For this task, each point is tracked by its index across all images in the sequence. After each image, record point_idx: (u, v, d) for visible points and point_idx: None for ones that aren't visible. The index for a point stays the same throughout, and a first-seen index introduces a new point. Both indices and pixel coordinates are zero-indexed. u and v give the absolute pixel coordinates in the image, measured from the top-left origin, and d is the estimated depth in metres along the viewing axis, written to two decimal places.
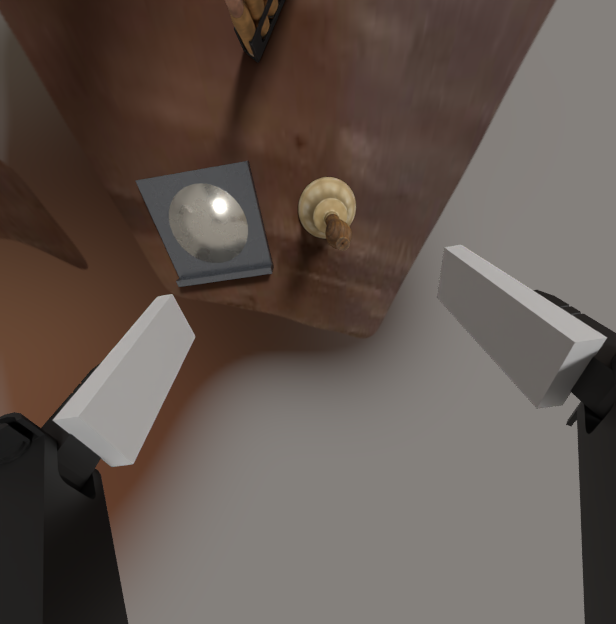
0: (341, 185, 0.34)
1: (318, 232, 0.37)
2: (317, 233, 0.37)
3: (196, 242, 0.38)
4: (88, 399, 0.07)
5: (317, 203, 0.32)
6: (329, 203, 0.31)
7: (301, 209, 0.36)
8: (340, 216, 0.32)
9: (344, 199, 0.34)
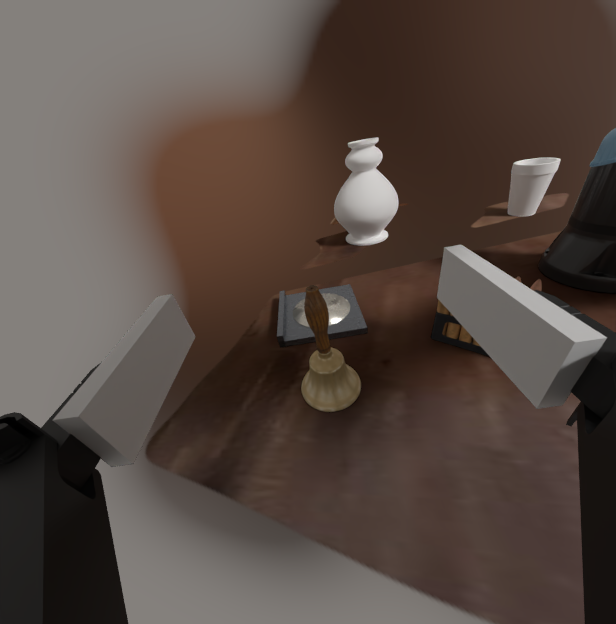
0: (354, 391, 0.33)
1: (309, 371, 0.36)
2: (308, 373, 0.37)
3: None
4: (88, 399, 0.07)
5: None
6: (339, 355, 0.32)
7: None
8: (326, 362, 0.31)
9: (341, 384, 0.32)
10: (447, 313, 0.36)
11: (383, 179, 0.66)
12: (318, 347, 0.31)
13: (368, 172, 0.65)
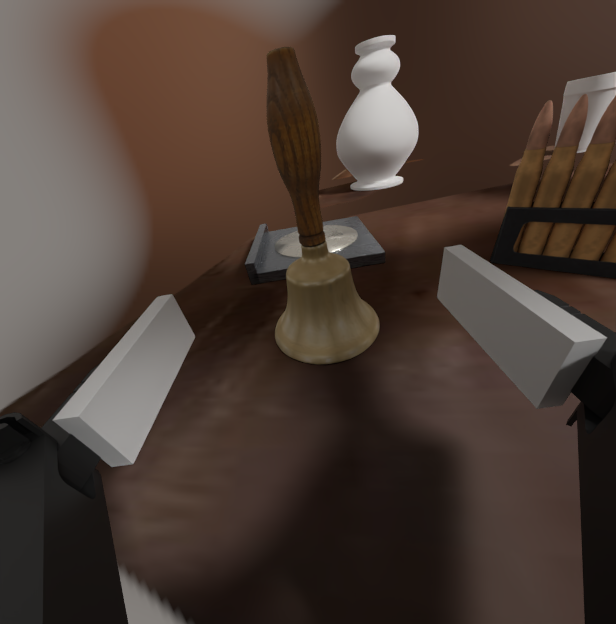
0: (368, 329, 0.18)
1: None
2: None
3: None
4: (88, 399, 0.07)
5: None
6: (341, 259, 0.17)
7: None
8: (317, 266, 0.16)
9: (345, 313, 0.17)
10: (528, 206, 0.21)
11: (400, 97, 0.51)
12: (300, 231, 0.16)
13: (381, 86, 0.50)
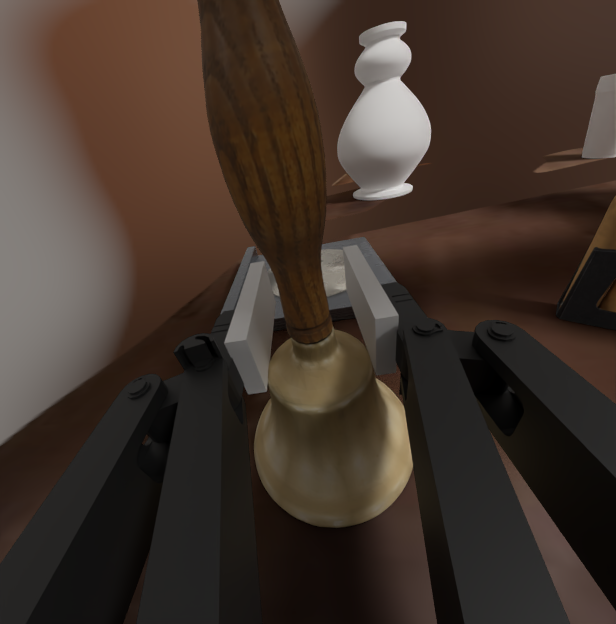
0: (401, 458, 0.11)
1: None
2: None
3: None
4: (245, 329, 0.09)
5: None
6: (357, 351, 0.10)
7: None
8: (319, 374, 0.09)
9: (365, 443, 0.10)
10: None
11: (411, 94, 0.44)
12: (289, 321, 0.09)
13: (390, 82, 0.44)
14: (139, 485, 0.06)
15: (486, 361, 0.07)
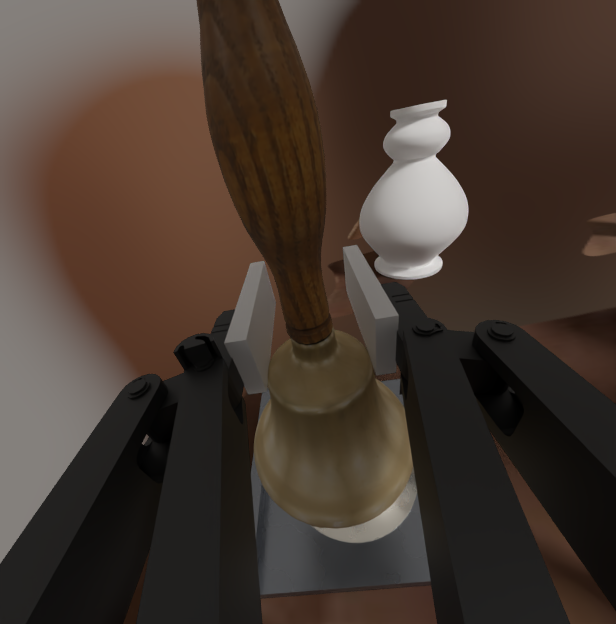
0: (401, 459, 0.11)
1: None
2: None
3: None
4: (245, 329, 0.09)
5: None
6: (357, 351, 0.10)
7: None
8: (319, 374, 0.09)
9: (365, 443, 0.10)
10: None
11: (448, 174, 0.39)
12: (289, 321, 0.09)
13: (424, 162, 0.38)
14: (139, 485, 0.06)
15: (486, 361, 0.07)
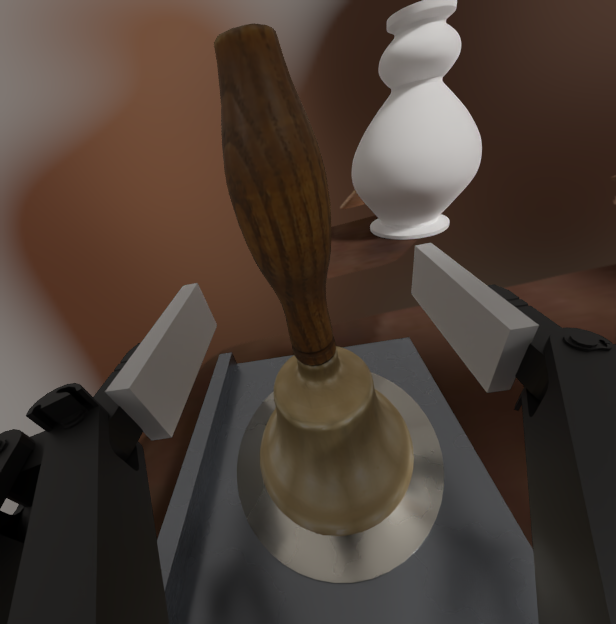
0: (401, 469, 0.12)
1: None
2: None
3: None
4: (135, 374, 0.08)
5: None
6: (359, 369, 0.11)
7: None
8: (323, 393, 0.10)
9: (366, 456, 0.11)
10: None
11: (459, 101, 0.32)
12: (295, 344, 0.09)
13: (429, 84, 0.31)
14: (4, 554, 0.06)
15: None
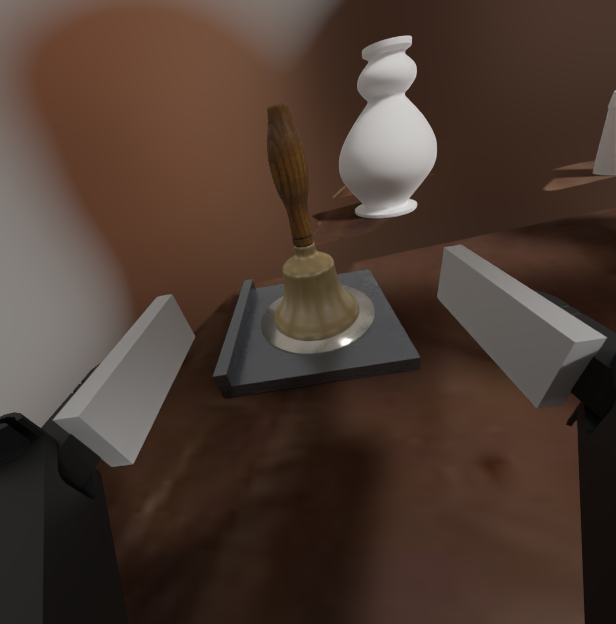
0: (349, 313, 0.22)
1: None
2: None
3: None
4: (88, 399, 0.07)
5: None
6: (326, 256, 0.22)
7: None
8: (307, 262, 0.21)
9: (330, 299, 0.21)
10: None
11: (417, 110, 0.42)
12: (294, 235, 0.20)
13: (394, 98, 0.42)
14: None
15: None
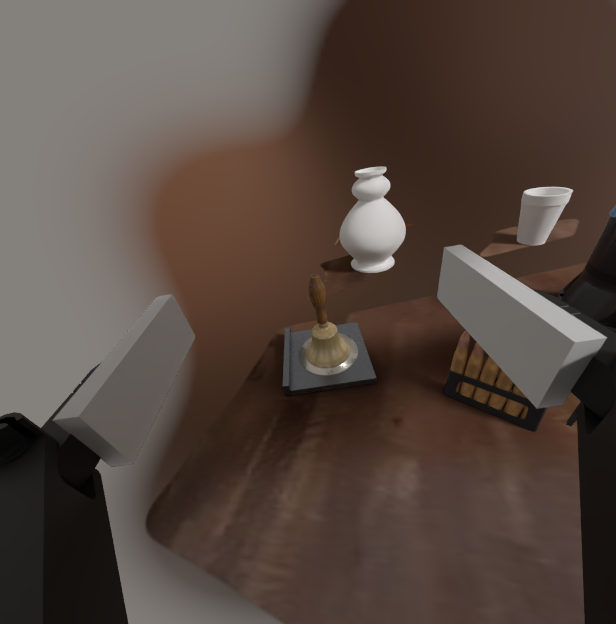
0: (345, 354, 0.45)
1: None
2: (310, 342, 0.48)
3: None
4: (88, 399, 0.07)
5: None
6: (333, 327, 0.44)
7: None
8: (324, 331, 0.43)
9: (335, 348, 0.44)
10: (462, 372, 0.35)
11: (390, 208, 0.65)
12: (318, 319, 0.42)
13: (375, 201, 0.64)
14: None
15: None
